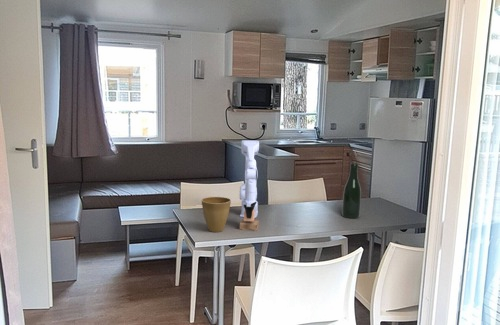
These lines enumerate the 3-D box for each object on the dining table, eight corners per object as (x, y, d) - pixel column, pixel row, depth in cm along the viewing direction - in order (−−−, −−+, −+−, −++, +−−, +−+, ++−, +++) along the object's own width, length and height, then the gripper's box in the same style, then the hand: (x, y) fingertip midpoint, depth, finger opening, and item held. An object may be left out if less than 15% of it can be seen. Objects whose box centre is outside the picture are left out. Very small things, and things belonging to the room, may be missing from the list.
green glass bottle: (338, 216, 270) (341, 161, 265) (347, 213, 278) (351, 159, 272) (353, 220, 263) (357, 163, 258) (363, 216, 271) (367, 161, 265)
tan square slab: (258, 225, 245) (258, 220, 244) (256, 230, 236) (257, 225, 235) (242, 224, 246) (242, 219, 245) (239, 229, 237) (239, 223, 237)
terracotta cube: (254, 218, 242) (254, 209, 242) (253, 221, 237) (253, 212, 237) (245, 218, 243) (245, 209, 242) (243, 220, 238) (244, 211, 237)
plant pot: (228, 225, 243) (229, 196, 241) (231, 234, 228) (232, 203, 226) (200, 225, 241) (201, 196, 238) (201, 234, 226) (202, 203, 224)
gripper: (244, 188, 246) (244, 212, 248) (241, 194, 231) (240, 220, 233) (257, 189, 245) (256, 213, 247) (254, 194, 230) (253, 220, 233)
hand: (249, 216), depth 240 cm, fingers closed on terracotta cube, 5 cm apart
